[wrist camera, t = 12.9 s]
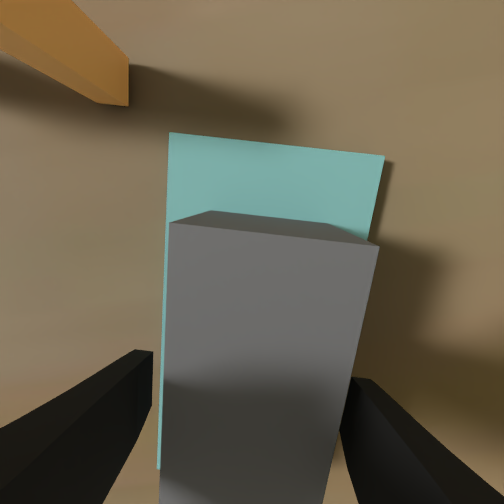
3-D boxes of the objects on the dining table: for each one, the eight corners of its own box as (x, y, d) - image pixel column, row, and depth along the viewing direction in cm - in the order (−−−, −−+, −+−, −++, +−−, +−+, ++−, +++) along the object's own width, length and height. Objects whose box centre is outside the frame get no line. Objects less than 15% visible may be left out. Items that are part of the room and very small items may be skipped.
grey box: (286, 458, 13) (299, 604, 8) (194, 446, 13) (156, 584, 8) (327, 223, 10) (379, 246, 6) (211, 210, 10) (169, 222, 6)
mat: (311, 477, 14) (313, 490, 13) (161, 457, 14) (156, 469, 13) (378, 158, 10) (385, 156, 9) (174, 135, 10) (169, 132, 10)
